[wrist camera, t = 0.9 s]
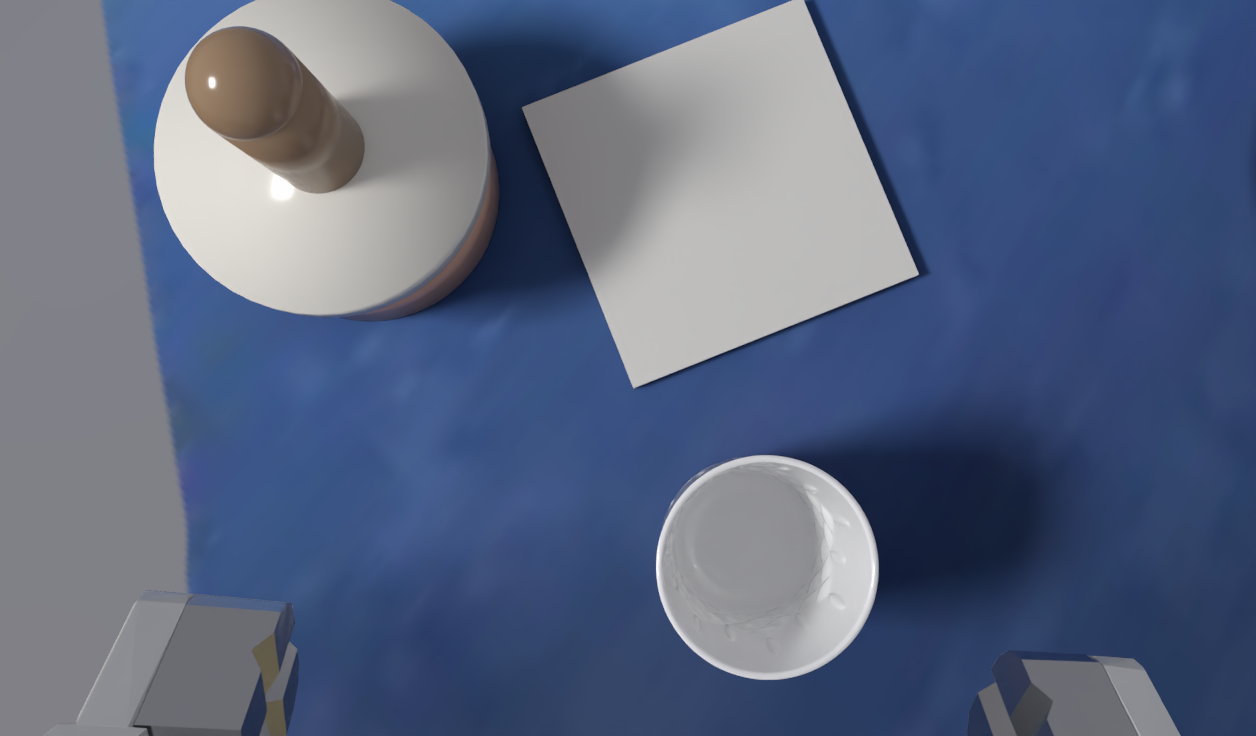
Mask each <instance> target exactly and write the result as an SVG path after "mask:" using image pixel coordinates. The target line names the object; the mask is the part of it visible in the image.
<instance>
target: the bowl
mask: <svg viewBox="0 0 1256 736" xmlns="http://www.w3.org/2000/svg"><path fill="white" fill-rule="evenodd" d="M490 154H491V163H490V175H489V183H488V187H487V192H486V196H485V201H484V204H483V206H482V209H481V212H480V215H479V217H478V220H477V222H476V224H475V226H474V228H473V230H472V232H471V234H470V236H469V237H468V239H467V241H466V242H465V244H464V245H463V247H462V248H461V249H460V251H459V252H458V254H457V255H456V256H455V258H454V259H453V260H452V261H451V262H450V263H449V264H448V265H447V266H446V267H445V269H444V270H443V271H442V272H441V273H440V274H438V275H437V276H436V277H435V278H434V279H433V280H431V281H430V282H429V283H428V284H427V285H425V286H424V287H422V288H421V289H419V290H418V291H416V292H415V293H413V294H412V295H410V296H408V297H407V298H405V299H403V300H400V301H398V302H396V303H394V304H392V305H390V306H388V307H385V308H382V309H378V310H375V311H372V312H369V313H365V314H359V315H354V316H349V317H339V318H343V319H348V320H355V321H386V320H391V319H396V318H402V317H405V316H408V315H411V314H414V313H417V312H419V311H421V310H424V309H426V308H428V307H430V306H432V305H434V304H435V303H437V302H439V301H440V300H442V299H443V298H445V297H446V296H448V295H449V294H450V293H451V292H452V291H454V290H455V289H456V288H457V287H458V286H460V285H461V284H462V282H463V281H464V280H465V279H466V278H467V277H468V276H469V275H470V274H471V273H472V271H473V270H474V268H475V267H476V265H477V264H478V263H479V261H480V260H481V258H482V256H483V254H484V252H485V251H486V249H487V247H488V245H489V243H490V240H491V237H492V234H493V232H494V229H495V225H496V220H497V216H498V211H499V200H500V186H499V175H498V169H497V164H496V160H495V157H494V154H493V151H492V147H491V145H490Z"/></svg>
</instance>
